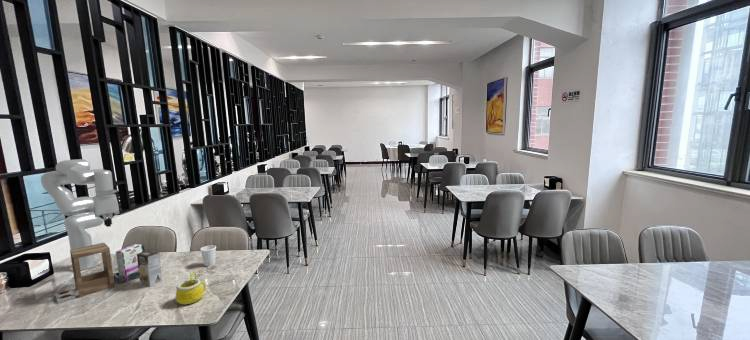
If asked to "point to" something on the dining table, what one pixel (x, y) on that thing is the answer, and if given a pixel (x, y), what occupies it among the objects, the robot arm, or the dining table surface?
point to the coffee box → (149, 267)
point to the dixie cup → (208, 255)
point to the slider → (130, 276)
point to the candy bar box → (128, 260)
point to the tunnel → (94, 280)
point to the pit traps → (64, 296)
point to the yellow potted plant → (190, 290)
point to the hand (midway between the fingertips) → (108, 226)
